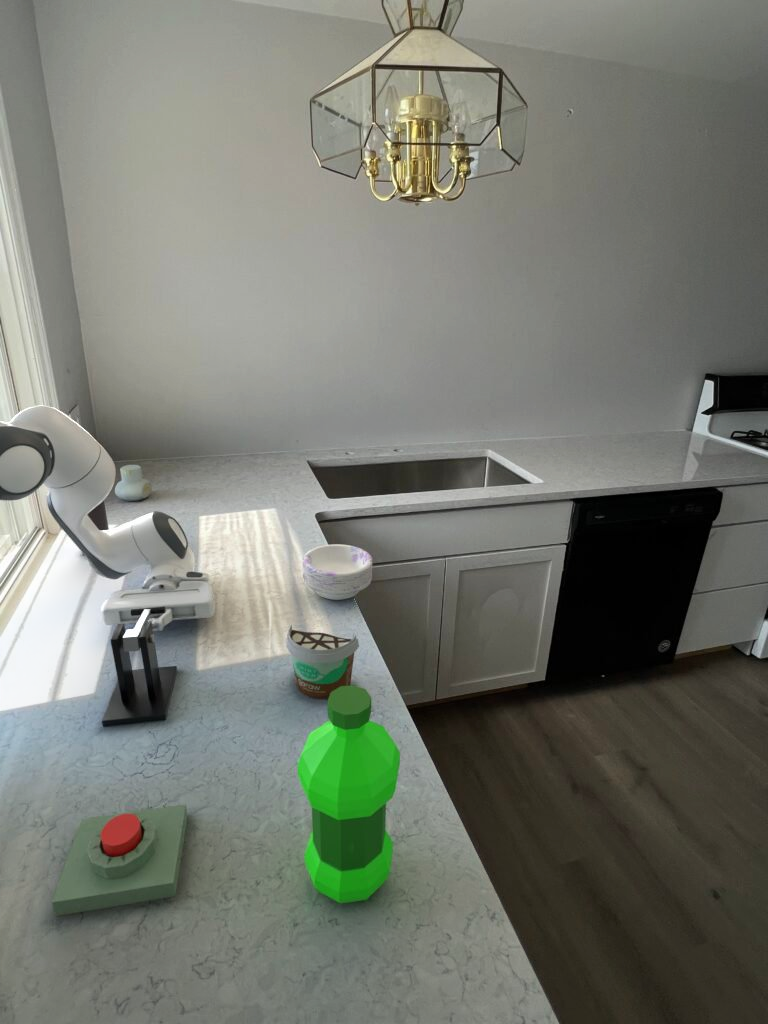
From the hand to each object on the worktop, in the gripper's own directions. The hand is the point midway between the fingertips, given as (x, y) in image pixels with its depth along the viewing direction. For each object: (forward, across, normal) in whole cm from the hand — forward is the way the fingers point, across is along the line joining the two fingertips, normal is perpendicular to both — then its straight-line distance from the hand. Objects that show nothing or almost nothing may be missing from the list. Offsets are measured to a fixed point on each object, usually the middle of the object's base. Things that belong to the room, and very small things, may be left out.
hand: (153, 627), depth 100 cm
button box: (+42, +4, +5) cm, 42 cm away
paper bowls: (-17, +35, +5) cm, 39 cm away
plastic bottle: (+48, +29, +5) cm, 56 cm away
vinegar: (-45, -22, +5) cm, 50 cm away
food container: (+16, +28, +5) cm, 33 cm away
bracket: (+13, 0, +5) cm, 14 cm away
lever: (+8, 0, -4) cm, 9 cm away
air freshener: (-83, -21, +5) cm, 86 cm away
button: (+42, +4, +1) cm, 42 cm away
